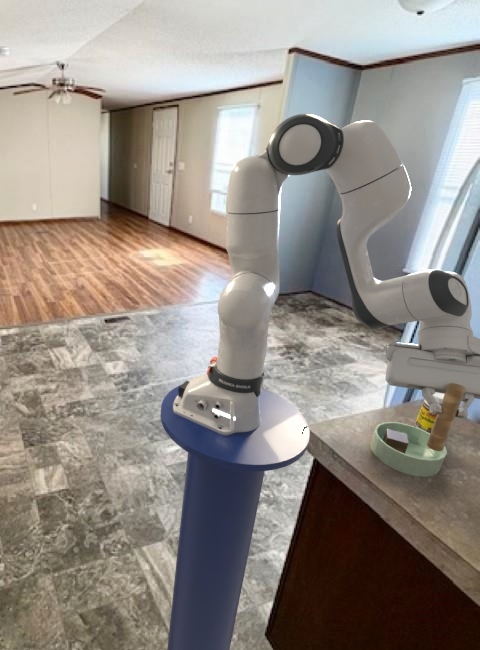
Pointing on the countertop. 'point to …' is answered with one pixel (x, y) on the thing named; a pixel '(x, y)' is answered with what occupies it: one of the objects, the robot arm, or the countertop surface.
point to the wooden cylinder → (446, 416)
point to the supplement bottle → (428, 414)
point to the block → (396, 440)
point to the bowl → (408, 451)
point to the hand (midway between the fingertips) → (448, 415)
